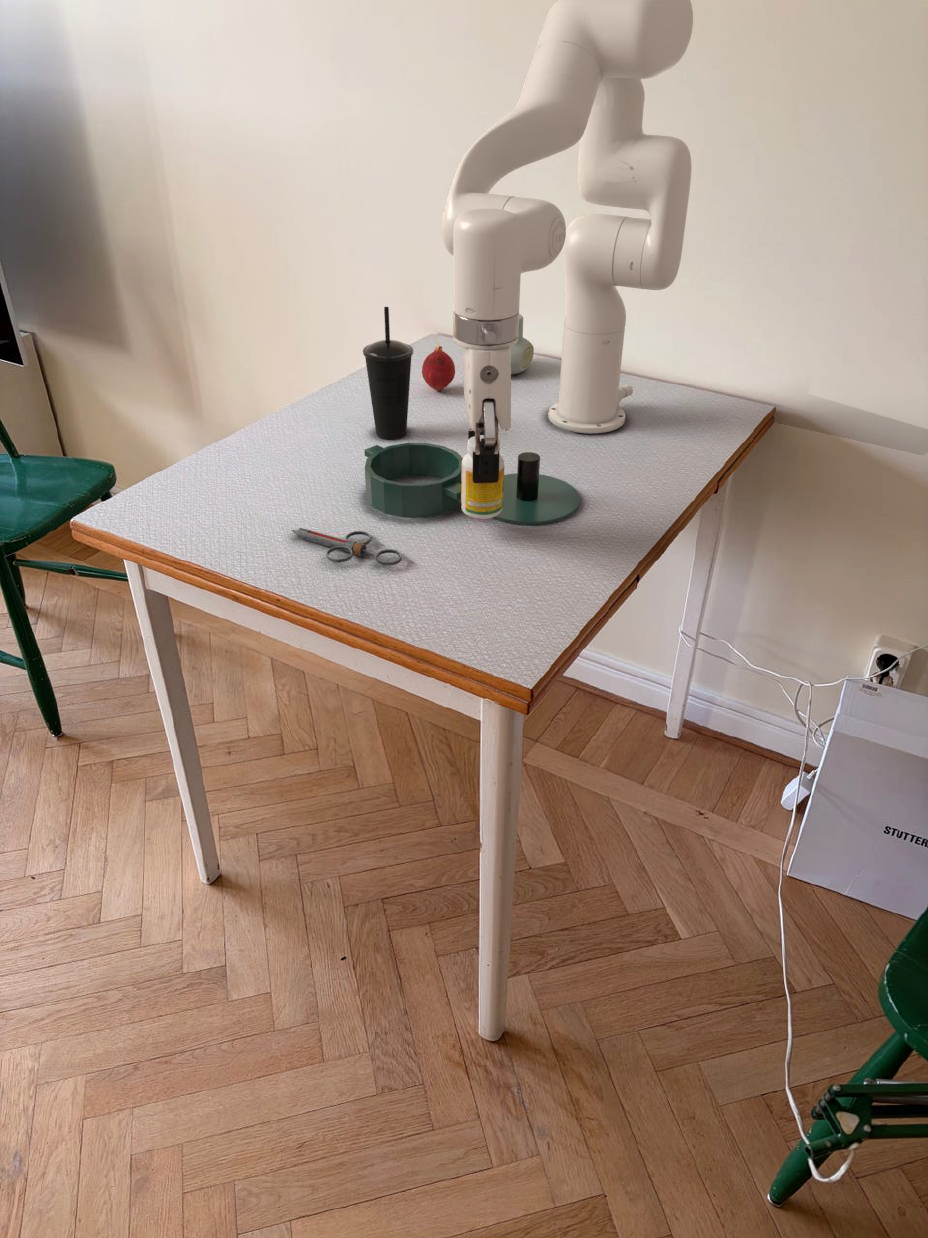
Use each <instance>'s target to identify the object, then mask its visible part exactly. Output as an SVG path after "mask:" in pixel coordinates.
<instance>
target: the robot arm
mask: <svg viewBox="0 0 928 1238" xmlns="http://www.w3.org/2000/svg"><path fill="white" fill-rule="evenodd" d="M693 28H694V11H693V4H692V2H691V0H556V1H555V2H554V3H553V4H552V6H551V7H550V8H549V10H548V12H547V14H546V17H545V19H544V22H543V25H542V28H541V31H540V34H539V37H538V40H537V43H536V46H535V49H534V52H533V55H532V58H531V62H530V65H529V67H528V70H527V74H526V77H525V80H524V83H523V86H522V89H521V92H520V96H519V99H518V102H517V104H516V106H514V108H513V109H511V110H510V111H509V112H507V113H506V114H504V115H503V116H501V118H499V119H498V120H497V121H496V122H494V123H493V124H492V125H491V126H490V127H489V128H487V130H486V131H484V132H483V133H482V134H481V135H480V136H479V137H478V138H477V139H476V140H475V141H474V142H473V144H472V145H471V146H470V147H469V148H468V150H466V152H465V153H464V155H463V156H462V158H461V160H460V162H459V165H458V166H457V169H456V171H455V174H454V177H453V180H452V183H451V185H450V186H451V187H450V189H449V192H448V195H447V198H446V202H445V205H444V210H443V214H442V221H441V237H442V243H443V244H444V248H445V249H446V251H447V252H448V253H449V254H450V255H451V256H452V257H453V259H452V260H453V261H452V264H453V265H452V266H453V271H452V272H453V275H452V276H453V278H452V279H453V281H452V282H453V285H452V286H453V289H452V291H453V295H452V296H453V300H452V301H453V302H452V303H453V306H452V309H453V311H452V314H453V315H452V322H453V323H452V334H453V335H452V340H453V342H454V343H455V344H457V346H459V347H462V348H463V349H462V372H463V375H462V378H463V379H462V380H463V396H464V405H465V412H466V416H467V420H468V421H467V422H468V424H469V430H468V432H467V433H468V434H467V441H468V440H469V439H470V438H471V437H474V436H475V452H473V472H472V479H473V482H474V483H496V482H498V481H499V454H500V451H499V442H498V439H499V431H500V430H499V427H500V429H501V430H502V431H503V430H504V431H505V432H508V431H510V429H511V428H512V375H511V359H510V347H511V346H513V345H515V344H516V343H517V342H518V327H519V314H520V301H521V299H520V297H521V274H523V273H527V272H528V273H529V272H534V271H539V270H542V269H544V268H546V267H548V266H549V265H551V264H552V263H553V262H554V261H555V260H556V259H557V258H558V257H559V255H560V253H561V252H562V263H563V271H564V272H563V273H564V287H565V291H564V293H565V294H564V297H565V298H564V316H563V317H564V318H563V331H562V345H561V361H560V374H559V375H560V376H559V391H558V392H559V393H558V402H555V403H554V404H552V405H551V406H550V407H549V408H548V413H547V415H548V420H549V422H550V423H552V425H554V426H555V427H558V428H560V429H563V430H566V431H568V432H572V433H578V434H590V435H591V434H602V433H603V434H604V433H608V432H612V431H615V430H618V429H620V428H621V427H622V426H623V425H624V424H625V422H626V412H625V410H624V409H623V408H621V406H620V402H622V400H623V399H625V398H628V397H630V396H631V395H632V394H633V392H634V389H633V386H631V385H630V384H625V385H622V386H620V379H621V370H622V360H623V350H624V342H625V332H626V331H625V330H626V323H627V310H626V306H625V303H624V301H623V299H622V296H621V293H620V292H619V290H618V288H617V287H623V288H632V289H639V290H648V291H661V290H665V289H667V288H669V287H670V286H671V285H672V284H673V283H674V282H675V280H676V277H677V276H678V273H679V270H680V265H681V260H682V255H683V254H682V253H683V248H684V247H683V246H684V238H685V230H686V224H687V223H686V222H687V214H688V205H689V199H690V190H691V182H692V157H691V152H690V149H689V147H688V145H687V144H686V143H685V142H684V141H683V140H682V139H680V138H679V137H675V136H671V135H670V136H669V135H661V134H660V135H659V134H658V135H657V134H645V132H644V131H643V120H644V119H643V118H644V109H645V108H644V107H645V99H646V98H645V97H646V95H645V93H646V92H645V87H644V85H643V82H642V80H646V79H647V80H648V79H652V78H654V77H657V76H659V75H662V74H663V73H664V72H666V71H669V70H670V69H672V68H674V67H675V66H676V65H677V64H678V63H679V62H680V61H681V59H682V58H683V57H684V55H685V54H686V51H687V49H688V47H689V44H690V41H691V38H692V34H693ZM578 143H579V144H578ZM576 144H578V145H579V146H578V159H577V161H578V162H577V188H578V192H579V195H580V197H581V198H582V199H583V200H584V201H586V202H587V203H589V204H593V205H597V206H604V207H612V208H621V209H630V210H631V209H632V210H642V211H647V213H648V214H649V217H650V218H641V217H629V216H626V215H615V214H606V213H605V214H604V213H590V214H584V215H581V216H578V217H576V218H575V219H573V220H572V221H571V222H570V223H569V224H568V226H567V227H566V220H565V217H564V214H563V213H562V211H561V210H560V209H559V208H558V206H557V205H555V204H554V203H552V202H549V201H547V200H543V199H539V198H533V197H531V198H530V197H520V196H514V195H505V194H496V193H490V191H491V190H492V189H493V188H494V186H495V185H496V184H497V183H498V182H499V181H501V179H503V178H504V177H506V176H507V175H509V174H510V173H512V172H514V171H517V170H518V169H521V168H523V167H525V166H527V165H530V164H532V163H536V162H539V161H541V160H543V159H546V158H549V157H552V156H555V155H557V154H559V153H561V152H564V151H566V150H569V149H570V148H572V147H574V146H575V145H576ZM480 435H484V438H481V441H480ZM500 455H501V454H500Z"/></svg>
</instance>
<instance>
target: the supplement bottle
mask: <svg viewBox="0 0 928 1238" xmlns="http://www.w3.org/2000/svg"><path fill="white" fill-rule="evenodd" d="M481 438H484V435H480V441H481ZM500 441H501V440H500V438H498V442H499V452H500V451H501V442H500ZM466 447H467V448H466V451H467V453H466V454H465V455H464V456H463V457H462V458H463V459H462V478H461V503H460V507H461V511H462V512H463V514H465V515H466V516H468V517H469V518H473V519H474V518H475V519H480V520H486V519H493V518H492V517H495V516H497V515H498V514H500V512H501V511H502V508H503V484H504V475H505V460H504V458H503V456H502V455H501V454H499V481H498V482H496V483H474V482H473V479H472V472H473V452H475V436H474V437H471V438H470V439H469V440H468V439H467V445H466Z"/></svg>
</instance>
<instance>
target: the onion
mask: <svg viewBox="0 0 928 1238" xmlns="http://www.w3.org/2000/svg"><path fill="white" fill-rule="evenodd" d="M421 375H422V378H423V380H424V382H425V383H426V384H427V386H429V387H430V388H432V389H433V390H434V391H435V392H441V391H443V390H444V389H445V388H447V387H448V386H449V385H450V384H451V383H452V382H453V380H454V379H455V375H456V365H455V362H454V359H452V357H451V356H450V355H449V354H448V353H447V352H445V351H443V346H441V345H436V346H435V349H434V351H432V352H431V353H430V354H428V355H427V356H426V357H425V359H424V360H423V362H422V366H421Z"/></svg>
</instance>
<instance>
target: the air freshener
mask: <svg viewBox="0 0 928 1238" xmlns="http://www.w3.org/2000/svg"><path fill="white" fill-rule="evenodd" d="M534 348H535V347H534V344H532V343H531V341H529V340H528V339H527V338H525V337H524V316H523V315H522V314H521V313H519V327H518V342H517V343H516V344H515V345H513V346H511V347H510V359H511V376H512V375H519V374H521V373H522V372H524V371H526V370H527V369H528V368H529V367H530V365H531V363H532V360H533V358H534V353H535V349H534Z"/></svg>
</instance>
